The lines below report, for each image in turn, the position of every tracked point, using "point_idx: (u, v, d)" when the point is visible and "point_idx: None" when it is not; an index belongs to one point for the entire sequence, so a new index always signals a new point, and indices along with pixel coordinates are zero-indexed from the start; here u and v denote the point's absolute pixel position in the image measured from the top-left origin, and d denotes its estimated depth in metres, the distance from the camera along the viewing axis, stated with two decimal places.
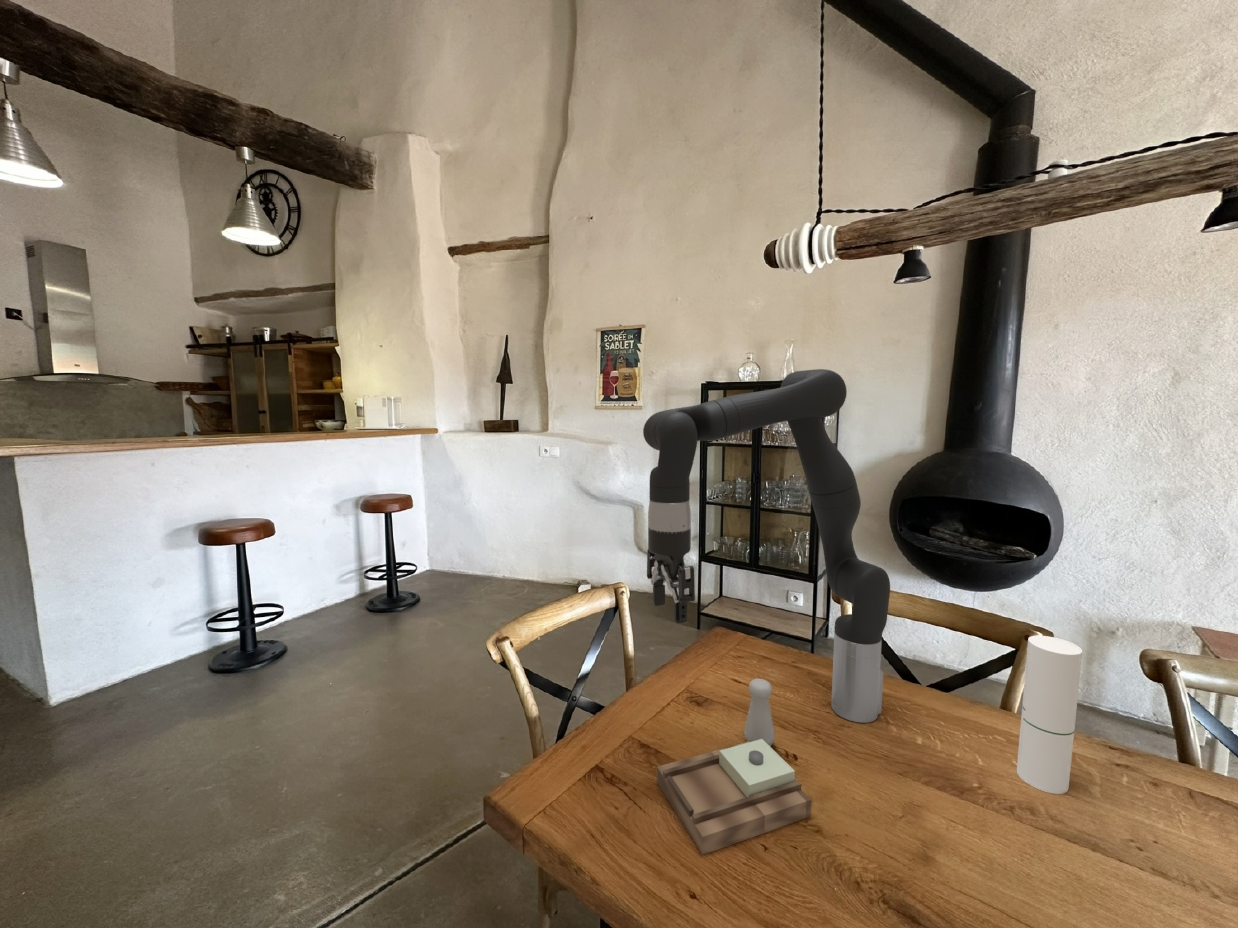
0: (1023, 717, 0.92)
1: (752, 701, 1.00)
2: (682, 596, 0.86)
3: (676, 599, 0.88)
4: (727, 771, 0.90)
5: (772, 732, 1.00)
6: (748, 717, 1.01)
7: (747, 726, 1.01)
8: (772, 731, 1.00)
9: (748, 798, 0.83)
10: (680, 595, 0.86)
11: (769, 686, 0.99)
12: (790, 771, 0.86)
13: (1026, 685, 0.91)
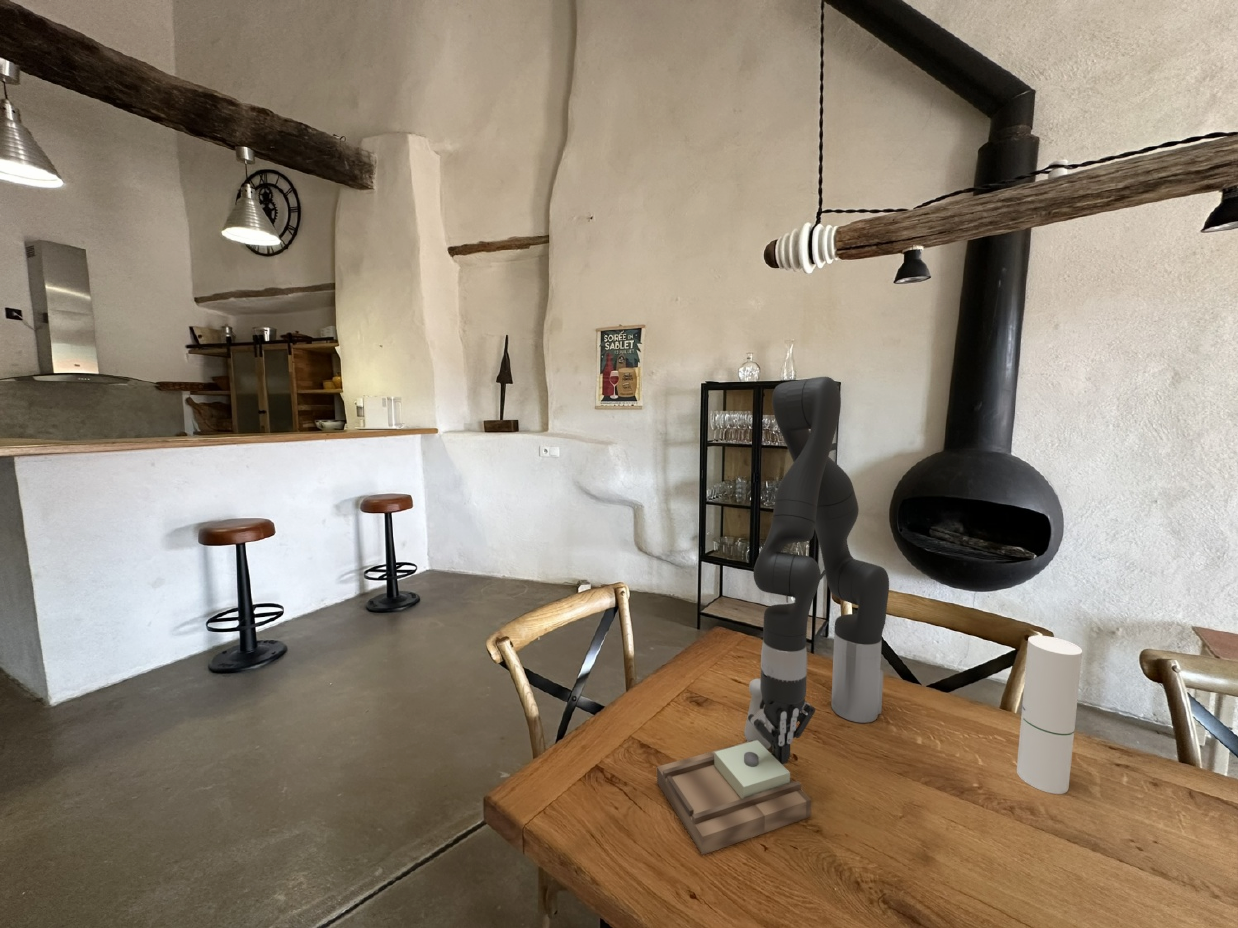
0: (1023, 717, 0.92)
1: (752, 701, 1.00)
2: None
3: (791, 740, 0.90)
4: (722, 772, 0.89)
5: None
6: None
7: (747, 726, 1.01)
8: None
9: (748, 798, 0.83)
10: (798, 730, 0.90)
11: None
12: (785, 773, 0.86)
13: (1026, 685, 0.91)
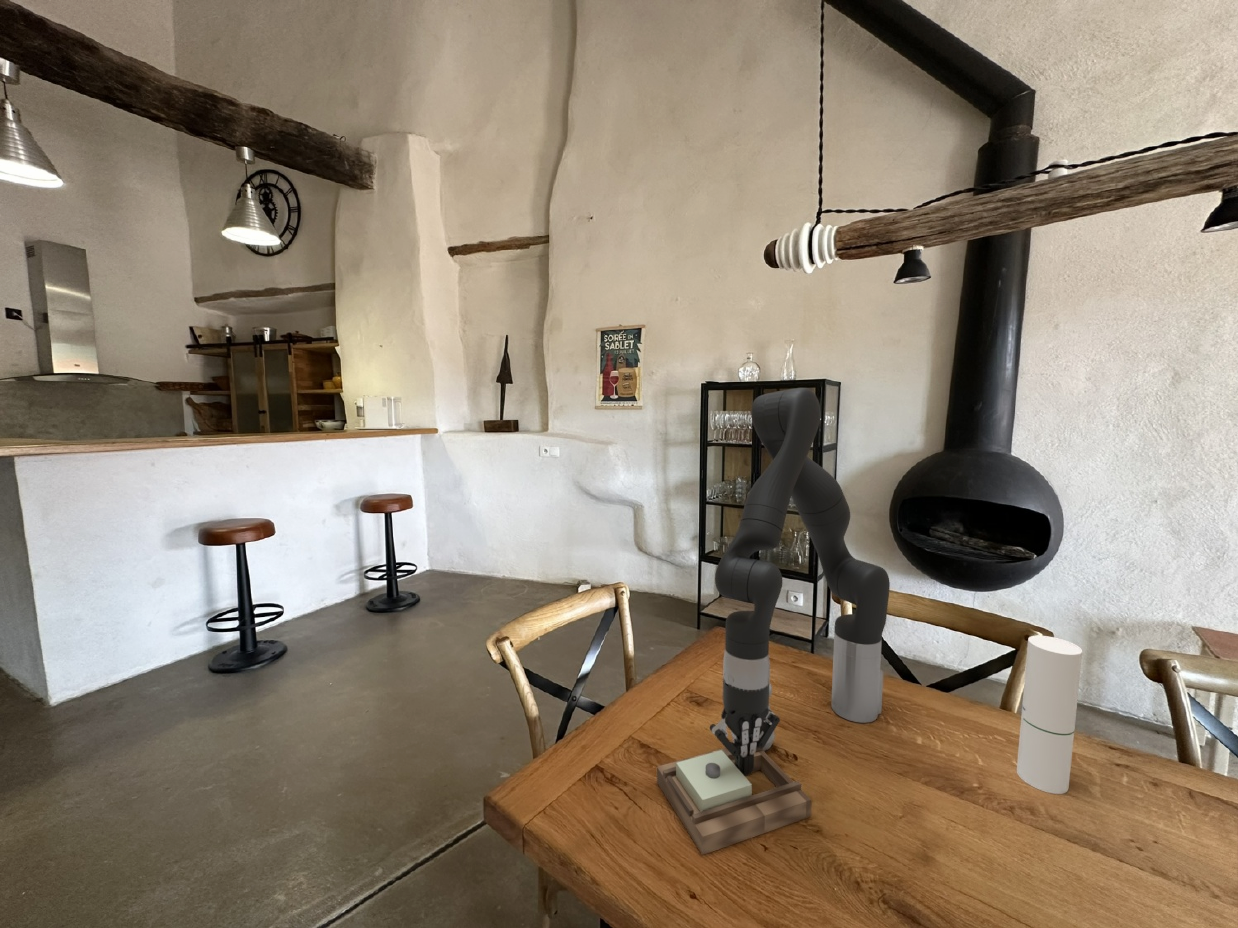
0: (1023, 717, 0.92)
1: None
2: (764, 740, 0.88)
3: (754, 751, 0.87)
4: (683, 784, 0.87)
5: None
6: None
7: None
8: None
9: (748, 798, 0.83)
10: (762, 741, 0.88)
11: (769, 686, 0.99)
12: (747, 785, 0.83)
13: (1026, 685, 0.91)
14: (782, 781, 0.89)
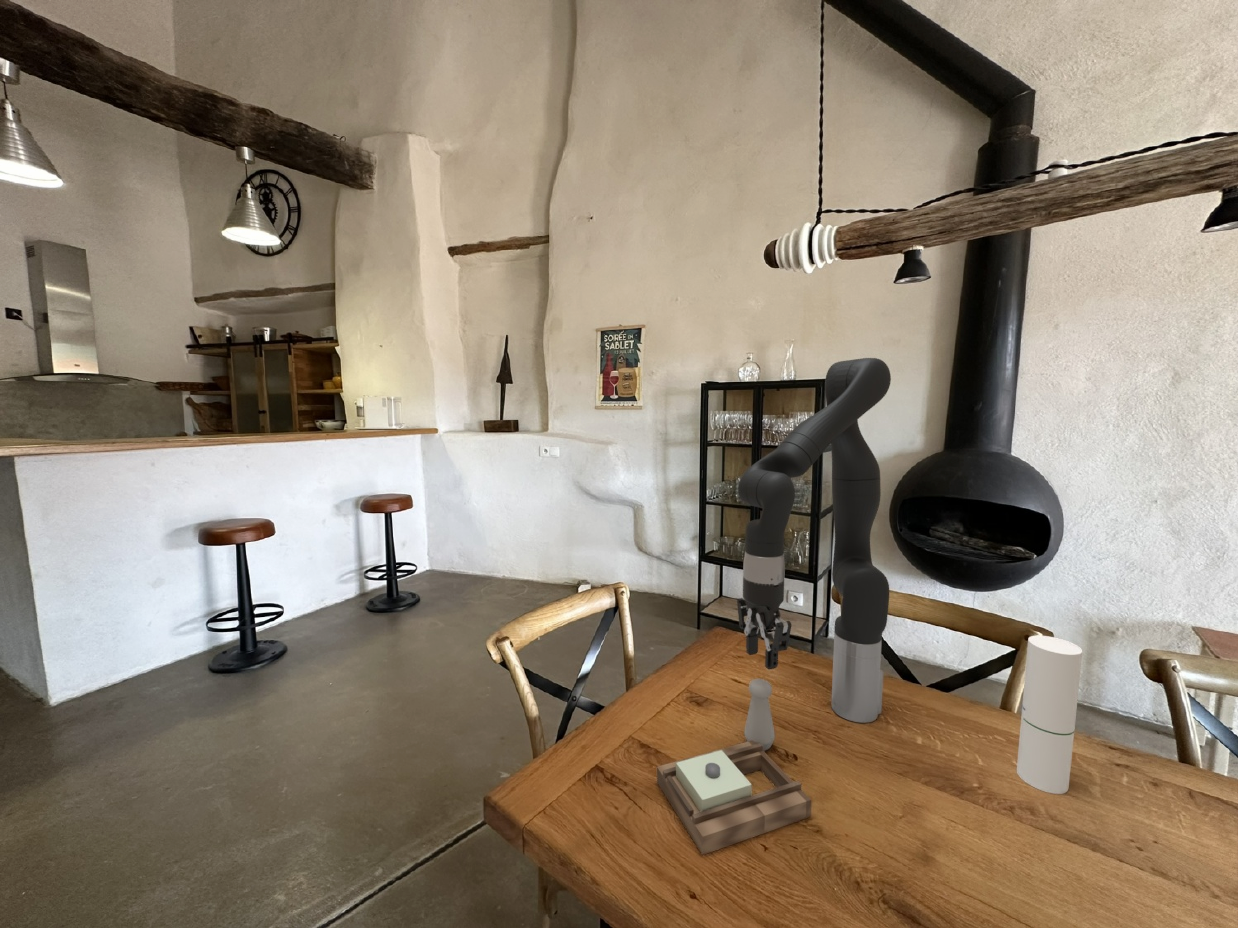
0: (1023, 717, 0.92)
1: (752, 701, 1.00)
2: None
3: None
4: (683, 784, 0.87)
5: (772, 732, 1.00)
6: (748, 717, 1.01)
7: (747, 726, 1.01)
8: (772, 731, 1.00)
9: (748, 798, 0.83)
10: None
11: (769, 686, 0.99)
12: (747, 785, 0.83)
13: (1026, 685, 0.91)
14: (782, 781, 0.89)
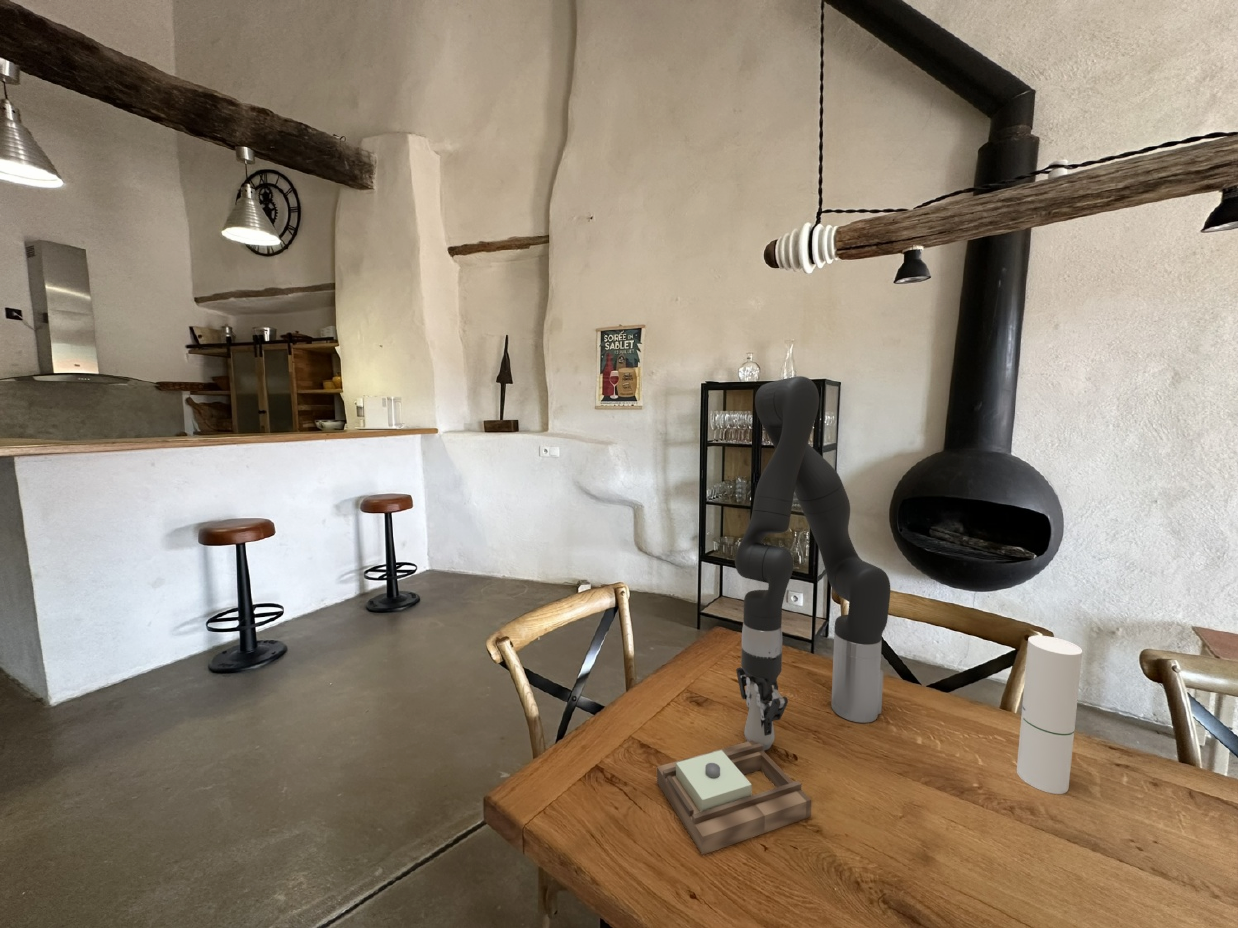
0: (1023, 717, 0.92)
1: (752, 701, 1.00)
2: None
3: None
4: (683, 784, 0.87)
5: (772, 732, 1.00)
6: (748, 717, 1.01)
7: (747, 726, 1.01)
8: (772, 731, 1.00)
9: (748, 798, 0.83)
10: None
11: None
12: (747, 785, 0.83)
13: (1026, 685, 0.91)
14: (782, 781, 0.89)
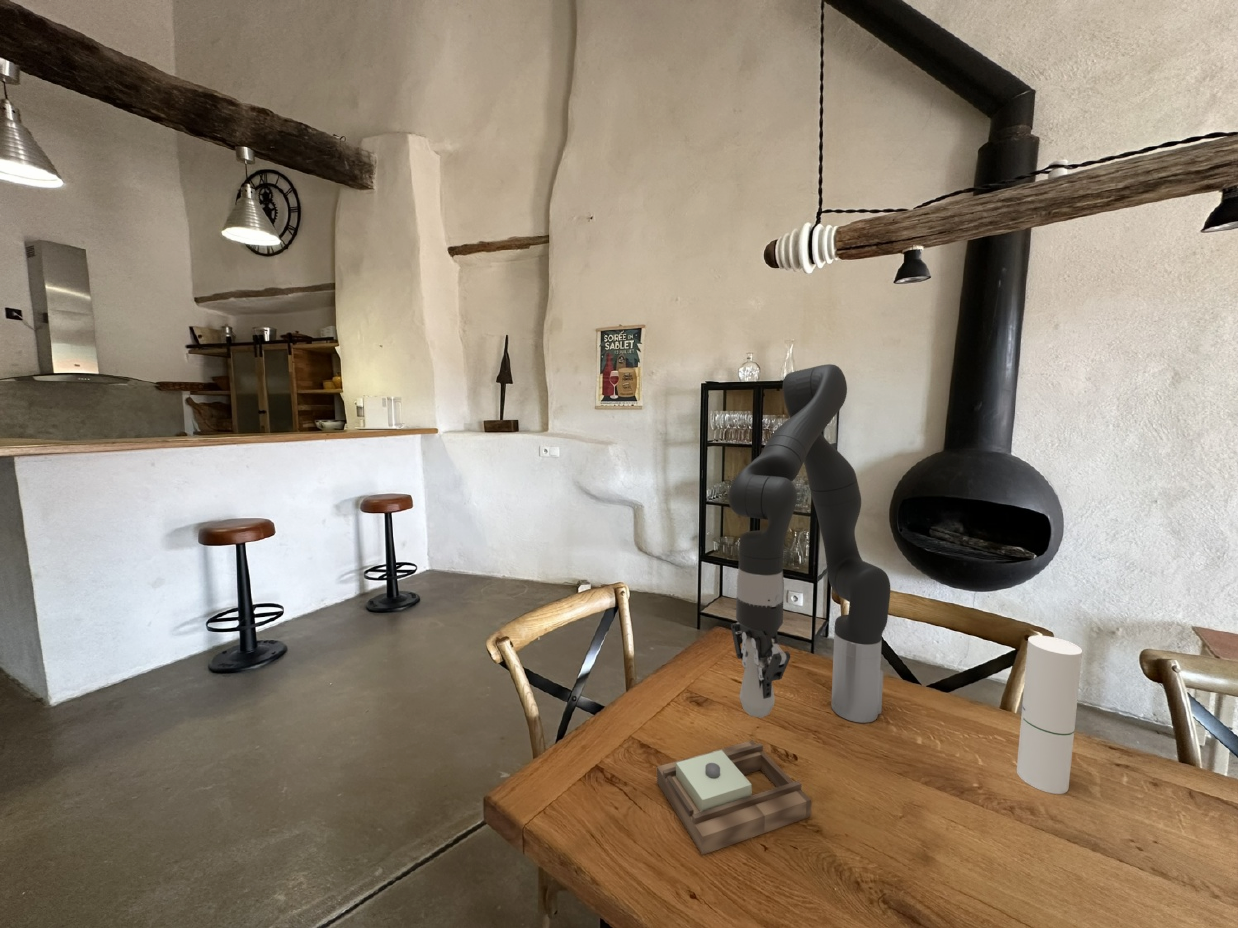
0: (1023, 717, 0.92)
1: (748, 659, 0.87)
2: None
3: None
4: (683, 784, 0.87)
5: (771, 695, 0.86)
6: (744, 678, 0.87)
7: (743, 688, 0.87)
8: (771, 694, 0.86)
9: (748, 798, 0.83)
10: None
11: None
12: (747, 785, 0.83)
13: (1026, 685, 0.91)
14: (782, 781, 0.89)
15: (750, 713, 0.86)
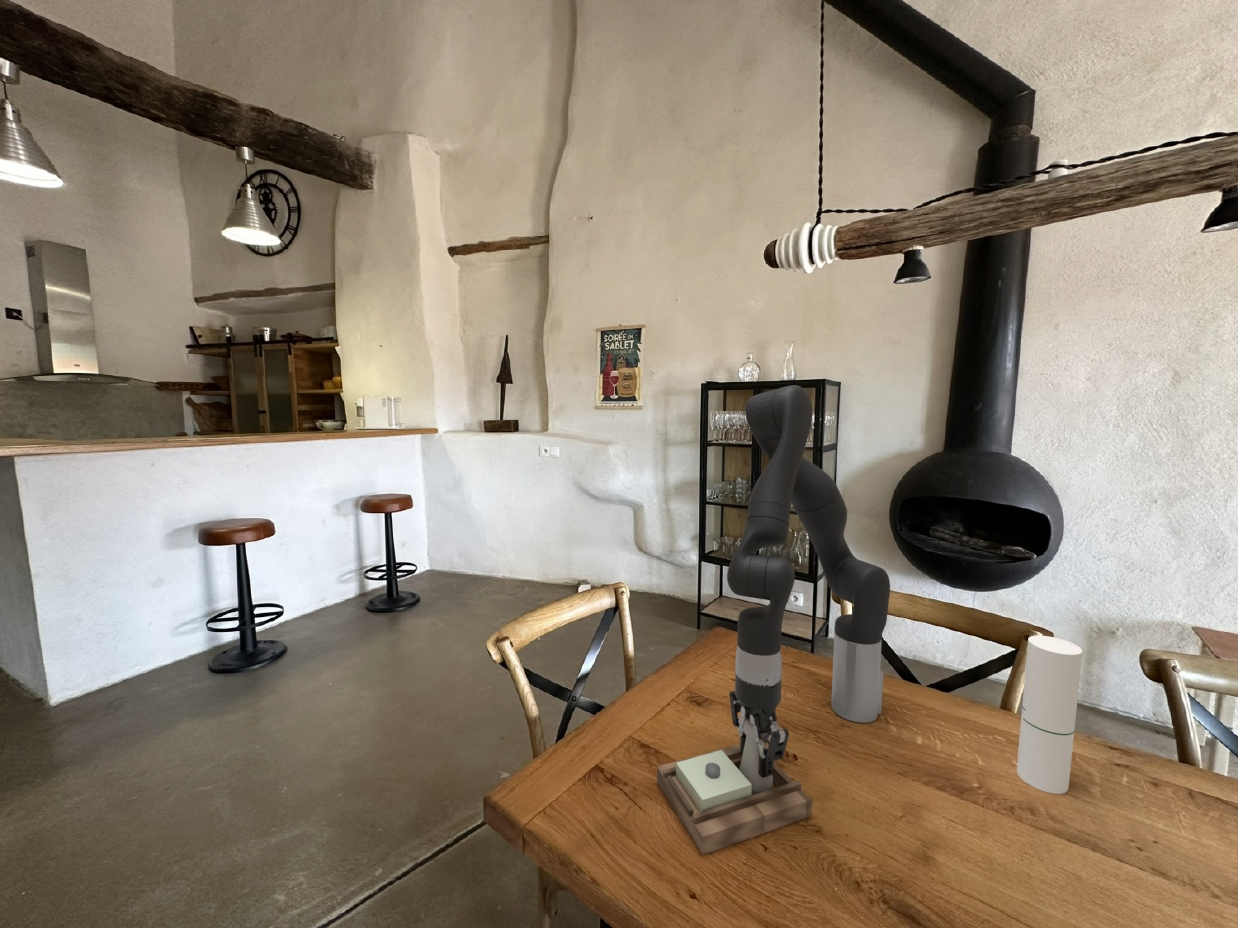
0: (1023, 717, 0.92)
1: (747, 742, 0.88)
2: None
3: None
4: (683, 784, 0.87)
5: (770, 778, 0.88)
6: (742, 760, 0.89)
7: (742, 770, 0.89)
8: (770, 776, 0.88)
9: (748, 798, 0.83)
10: None
11: None
12: (747, 785, 0.83)
13: (1026, 685, 0.91)
14: (782, 781, 0.89)
15: None
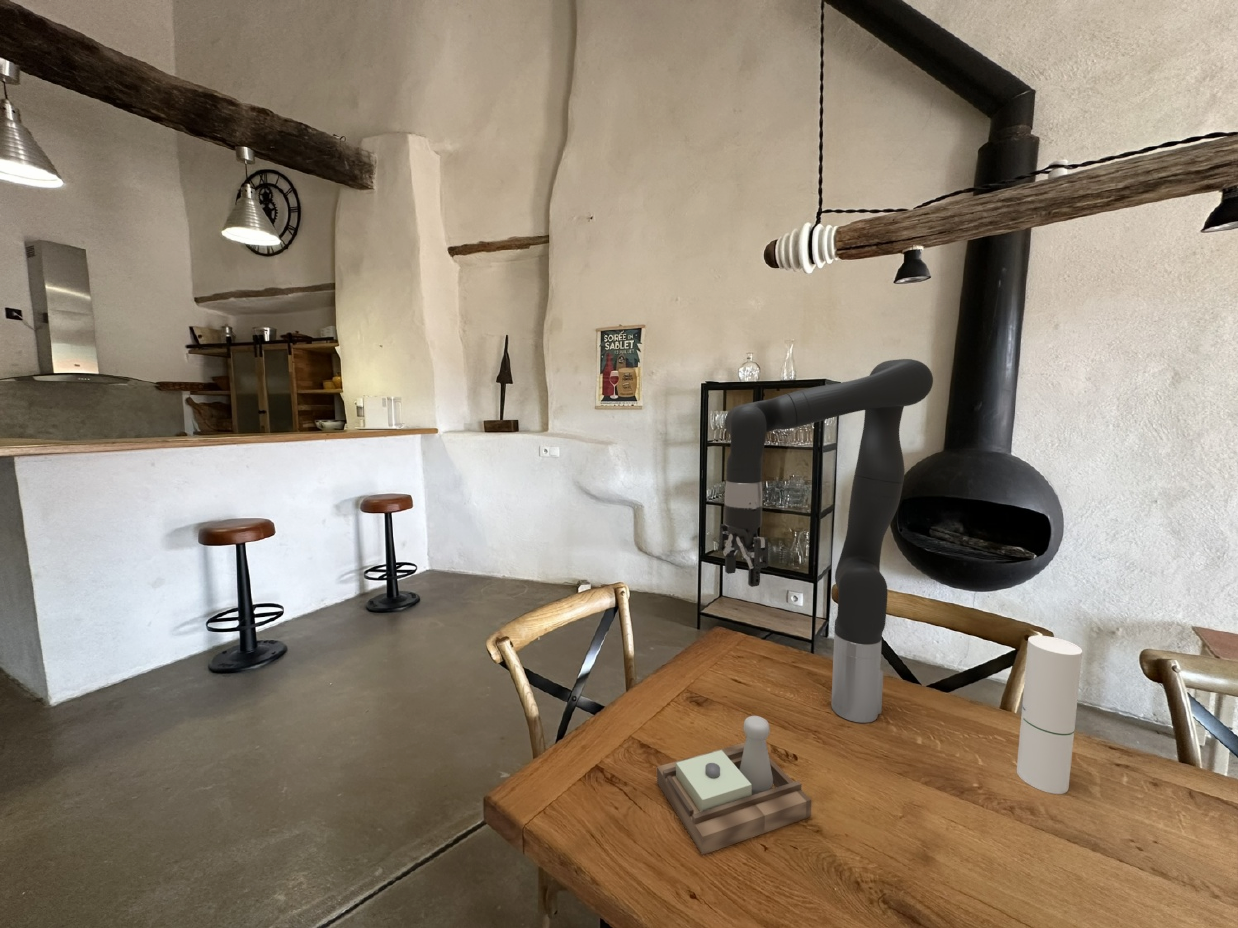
0: (1023, 717, 0.92)
1: (747, 742, 0.88)
2: None
3: None
4: (683, 784, 0.87)
5: (770, 778, 0.88)
6: (742, 760, 0.89)
7: (742, 770, 0.89)
8: (770, 776, 0.88)
9: (748, 798, 0.83)
10: None
11: (766, 725, 0.87)
12: (747, 785, 0.83)
13: (1026, 685, 0.91)
14: (782, 781, 0.89)
15: None
